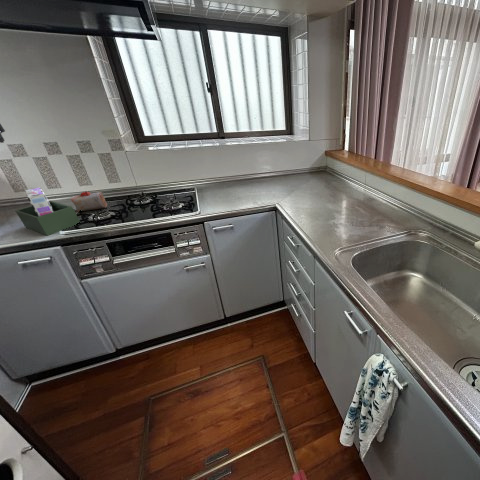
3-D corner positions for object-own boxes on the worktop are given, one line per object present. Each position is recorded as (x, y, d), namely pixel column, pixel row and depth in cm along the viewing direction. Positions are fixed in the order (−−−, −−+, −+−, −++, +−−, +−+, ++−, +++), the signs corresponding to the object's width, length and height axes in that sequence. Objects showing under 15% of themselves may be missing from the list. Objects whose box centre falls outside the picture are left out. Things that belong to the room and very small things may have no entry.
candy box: (62, 225, 127) (44, 193, 119) (46, 230, 123) (25, 196, 115) (58, 217, 135) (40, 186, 127) (42, 221, 131) (23, 189, 123)
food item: (75, 213, 142) (66, 196, 137) (79, 208, 148) (71, 191, 143) (106, 209, 147) (98, 192, 142) (108, 204, 153) (101, 187, 148)
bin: (25, 227, 128) (14, 210, 124) (59, 216, 139) (50, 200, 134) (47, 235, 121) (36, 217, 116) (80, 223, 131) (72, 206, 127)
